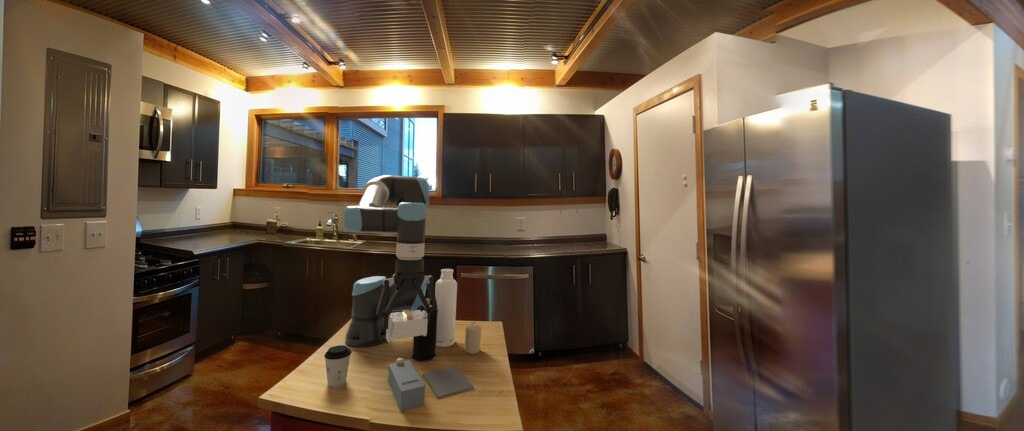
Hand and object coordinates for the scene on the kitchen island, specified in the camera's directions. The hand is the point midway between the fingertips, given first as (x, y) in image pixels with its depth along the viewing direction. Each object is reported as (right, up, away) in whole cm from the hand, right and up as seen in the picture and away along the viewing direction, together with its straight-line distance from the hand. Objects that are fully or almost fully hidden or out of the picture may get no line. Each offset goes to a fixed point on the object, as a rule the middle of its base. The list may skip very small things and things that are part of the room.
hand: (406, 337), depth 91 cm
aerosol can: (-1, -15, +21) cm, 26 cm away
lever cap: (0, +2, 0) cm, 2 cm away
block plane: (0, -15, -1) cm, 15 cm away
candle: (+15, -15, +28) cm, 35 cm away
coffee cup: (-21, -14, +2) cm, 25 cm away
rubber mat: (+10, -15, +6) cm, 20 cm away
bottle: (+3, -15, +33) cm, 37 cm away
